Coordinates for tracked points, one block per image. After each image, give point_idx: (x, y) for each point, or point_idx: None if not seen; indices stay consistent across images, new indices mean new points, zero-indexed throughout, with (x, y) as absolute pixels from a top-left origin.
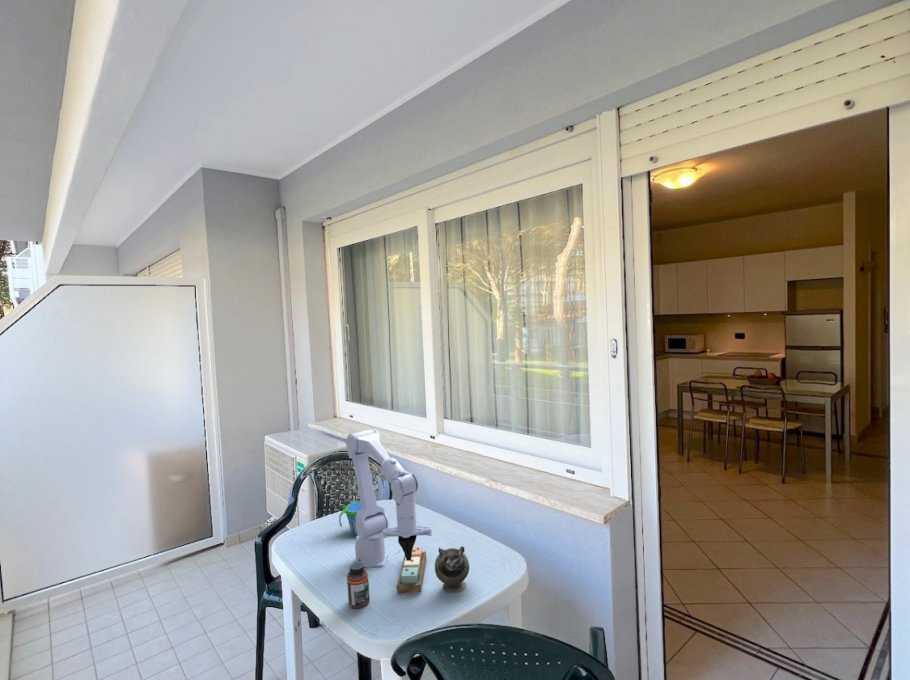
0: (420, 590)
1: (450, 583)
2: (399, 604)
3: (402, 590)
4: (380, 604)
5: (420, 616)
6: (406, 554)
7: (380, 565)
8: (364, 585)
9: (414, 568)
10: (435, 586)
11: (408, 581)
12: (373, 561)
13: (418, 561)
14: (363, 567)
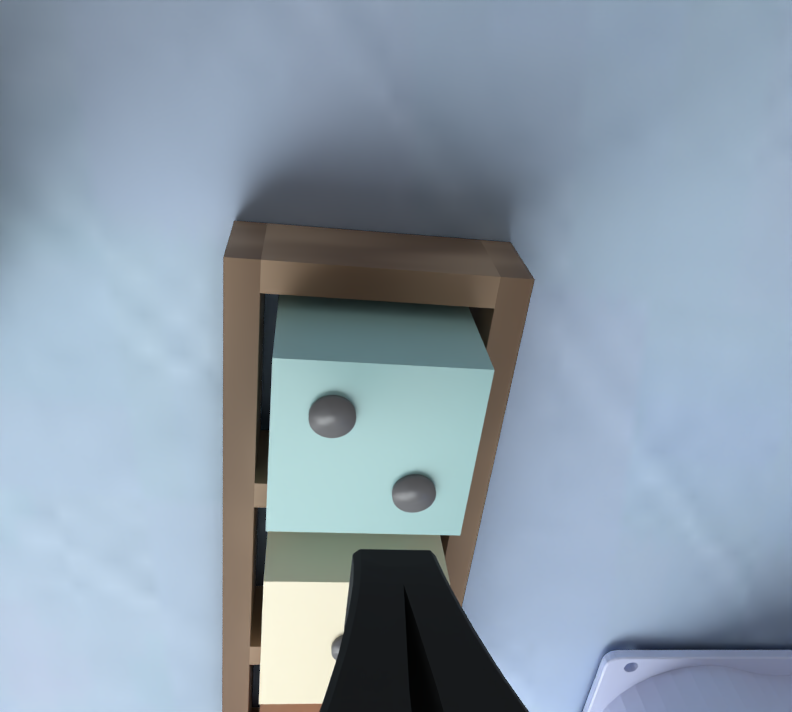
0: (237, 230)
1: None
2: (497, 16)
3: (458, 250)
4: (722, 60)
5: None
6: (446, 638)
7: (640, 655)
8: None
9: (312, 509)
10: (71, 317)
11: (388, 325)
12: (711, 691)
13: (269, 631)
14: None
